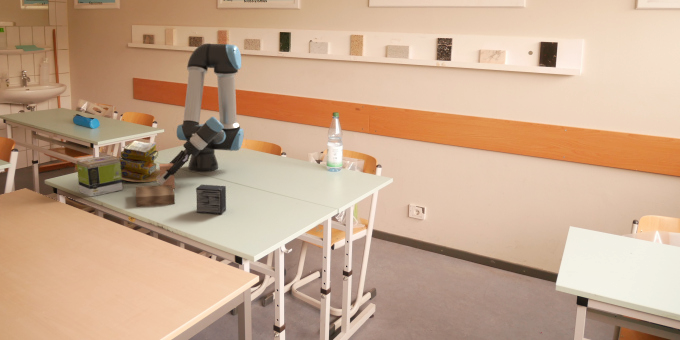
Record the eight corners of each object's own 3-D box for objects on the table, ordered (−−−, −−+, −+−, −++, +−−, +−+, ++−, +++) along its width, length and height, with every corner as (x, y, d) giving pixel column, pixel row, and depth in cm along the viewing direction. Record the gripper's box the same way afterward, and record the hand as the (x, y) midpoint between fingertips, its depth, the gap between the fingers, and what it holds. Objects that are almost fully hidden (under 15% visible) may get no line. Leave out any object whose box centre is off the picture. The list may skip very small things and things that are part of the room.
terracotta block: (173, 186, 250) (173, 163, 248) (174, 189, 246) (173, 165, 243) (160, 186, 248) (159, 163, 245) (160, 190, 244) (159, 166, 241)
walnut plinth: (172, 193, 239) (172, 184, 238) (174, 203, 226) (174, 194, 225) (136, 195, 234) (135, 186, 233) (136, 206, 221) (136, 197, 220)
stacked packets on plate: (174, 173, 272) (173, 141, 268) (144, 186, 249) (142, 150, 244) (131, 168, 278) (130, 136, 274) (98, 180, 255) (96, 145, 251)
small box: (226, 209, 222) (226, 185, 219) (221, 215, 215) (221, 189, 213) (201, 208, 222) (201, 183, 220) (196, 213, 216) (195, 188, 214)
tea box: (111, 185, 247) (109, 154, 243) (123, 190, 241) (121, 158, 237) (78, 192, 236) (76, 159, 232) (89, 197, 229) (87, 163, 226)
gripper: (187, 135, 253) (151, 171, 251) (190, 143, 237) (152, 181, 235) (198, 146, 256) (163, 181, 255) (203, 154, 240) (166, 192, 238)
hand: (158, 181), depth 245 cm, fingers closed on terracotta block, 5 cm apart
